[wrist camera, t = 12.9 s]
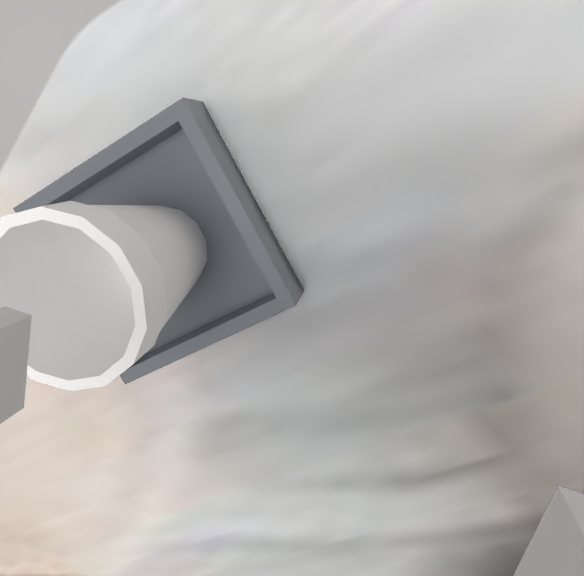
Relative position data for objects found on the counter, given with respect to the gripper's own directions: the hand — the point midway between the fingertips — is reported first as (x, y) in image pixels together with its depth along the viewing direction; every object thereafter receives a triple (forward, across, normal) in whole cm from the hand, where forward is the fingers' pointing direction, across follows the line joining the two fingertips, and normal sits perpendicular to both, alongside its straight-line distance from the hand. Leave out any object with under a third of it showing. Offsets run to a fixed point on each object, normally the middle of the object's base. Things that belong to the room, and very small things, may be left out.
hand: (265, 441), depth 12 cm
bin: (+24, +13, +3) cm, 28 cm away
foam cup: (+23, +13, +3) cm, 27 cm away
